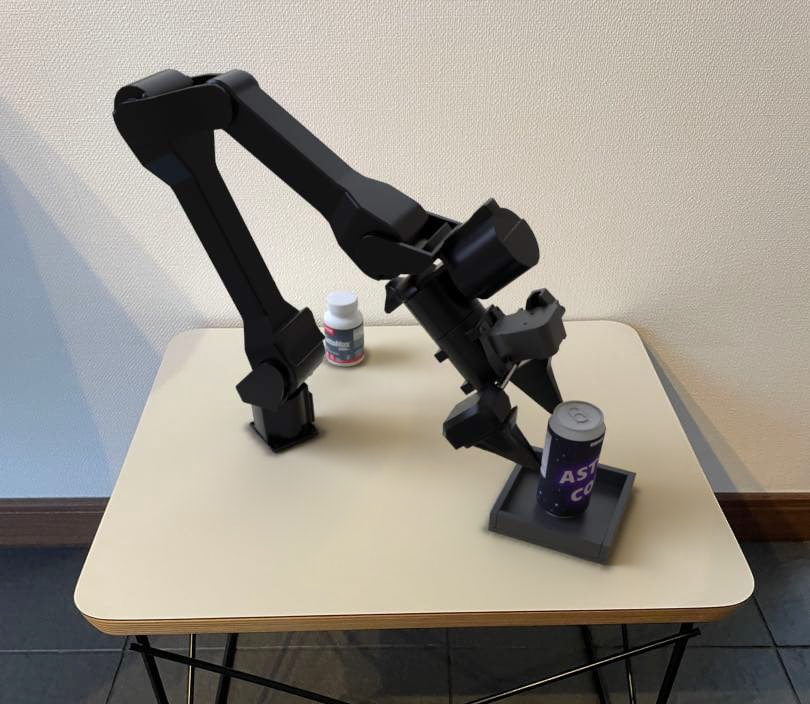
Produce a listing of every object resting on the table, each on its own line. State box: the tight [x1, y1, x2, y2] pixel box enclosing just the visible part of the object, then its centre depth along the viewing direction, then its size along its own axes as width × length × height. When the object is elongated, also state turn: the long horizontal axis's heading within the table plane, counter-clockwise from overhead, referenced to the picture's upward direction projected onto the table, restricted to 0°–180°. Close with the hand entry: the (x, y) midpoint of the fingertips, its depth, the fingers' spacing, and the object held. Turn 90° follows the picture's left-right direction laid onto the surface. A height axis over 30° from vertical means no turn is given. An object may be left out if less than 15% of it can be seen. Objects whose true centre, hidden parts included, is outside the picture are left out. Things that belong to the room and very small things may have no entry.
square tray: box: [487, 445, 637, 566], centre depth 83 cm, size 13×13×3 cm
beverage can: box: [536, 399, 607, 518], centre depth 79 cm, size 6×6×12 cm
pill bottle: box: [323, 290, 365, 367], centre depth 102 cm, size 5×5×9 cm
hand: (551, 441), depth 78 cm, fingers open, 9 cm apart
